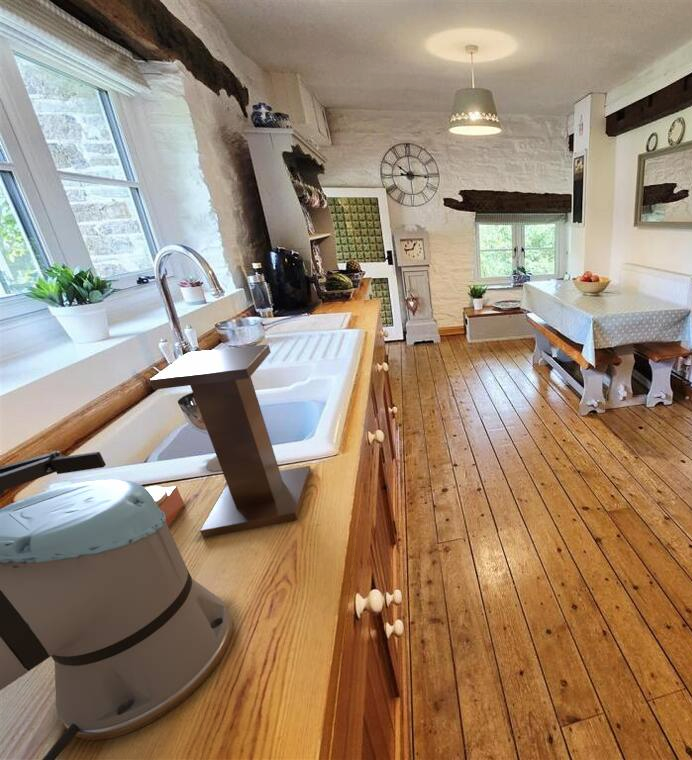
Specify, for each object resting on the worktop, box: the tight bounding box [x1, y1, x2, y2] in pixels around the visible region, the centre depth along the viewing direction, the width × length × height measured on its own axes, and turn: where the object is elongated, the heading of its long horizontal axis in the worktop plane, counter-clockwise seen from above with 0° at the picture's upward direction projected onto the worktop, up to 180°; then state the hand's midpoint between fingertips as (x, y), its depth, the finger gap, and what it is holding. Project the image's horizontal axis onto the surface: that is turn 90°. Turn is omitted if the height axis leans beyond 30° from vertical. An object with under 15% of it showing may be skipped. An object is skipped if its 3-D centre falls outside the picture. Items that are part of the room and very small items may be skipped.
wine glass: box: [177, 392, 222, 472], centre depth 83 cm, size 8×8×15 cm
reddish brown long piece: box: [145, 485, 185, 528], centre depth 67 cm, size 17×7×5 cm, turn 105°
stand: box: [149, 343, 312, 539], centre depth 68 cm, size 14×14×27 cm
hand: (74, 483), depth 64 cm, fingers open, 13 cm apart
